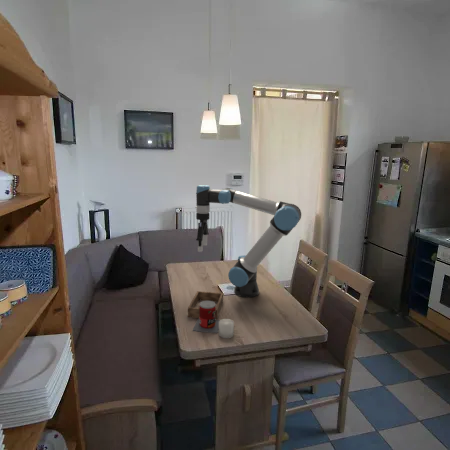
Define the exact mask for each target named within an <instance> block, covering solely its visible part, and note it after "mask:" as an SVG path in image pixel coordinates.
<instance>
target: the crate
mask: <svg viewBox="0 0 450 450" xmlns="http://www.w3.org/2000/svg"><path fill="white" fill-rule="evenodd" d="M199 301H213V302H216V303H217V304H216V318H215V320H218V317H219V316H220V315H219V314H220V311H221V308H222V306H223V303H224V293H223V292H213V291H196V293H195V295H194V296H193V298H192V300H191V302H190V303H189V306H188V307H187V318H192V319H194V318H195V319H198V318H199V307H197V305H198V303H199Z"/></svg>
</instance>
